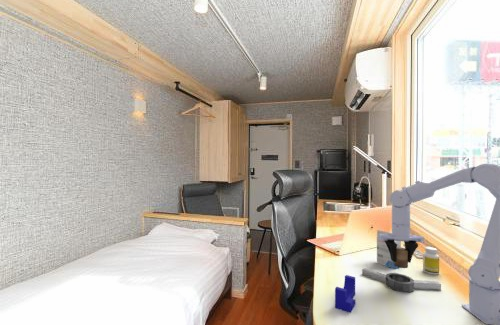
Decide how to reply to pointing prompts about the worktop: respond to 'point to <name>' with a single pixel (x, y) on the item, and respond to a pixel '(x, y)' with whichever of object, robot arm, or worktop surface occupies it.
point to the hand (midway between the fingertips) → (400, 261)
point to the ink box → (385, 251)
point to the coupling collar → (401, 281)
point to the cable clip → (346, 295)
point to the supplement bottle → (431, 261)
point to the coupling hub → (401, 258)
